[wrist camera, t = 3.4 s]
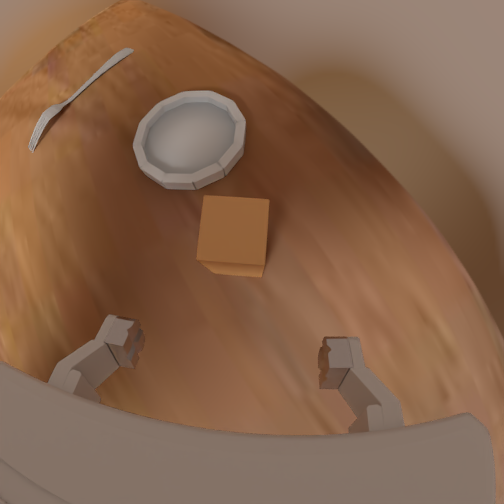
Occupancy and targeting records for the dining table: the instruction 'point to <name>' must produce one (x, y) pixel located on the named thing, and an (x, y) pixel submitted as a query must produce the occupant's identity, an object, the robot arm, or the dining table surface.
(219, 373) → the dining table surface
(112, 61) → the fork
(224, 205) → the wooden toy brick
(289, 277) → the dining table surface
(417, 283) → the dining table surface
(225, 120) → the ring dish
